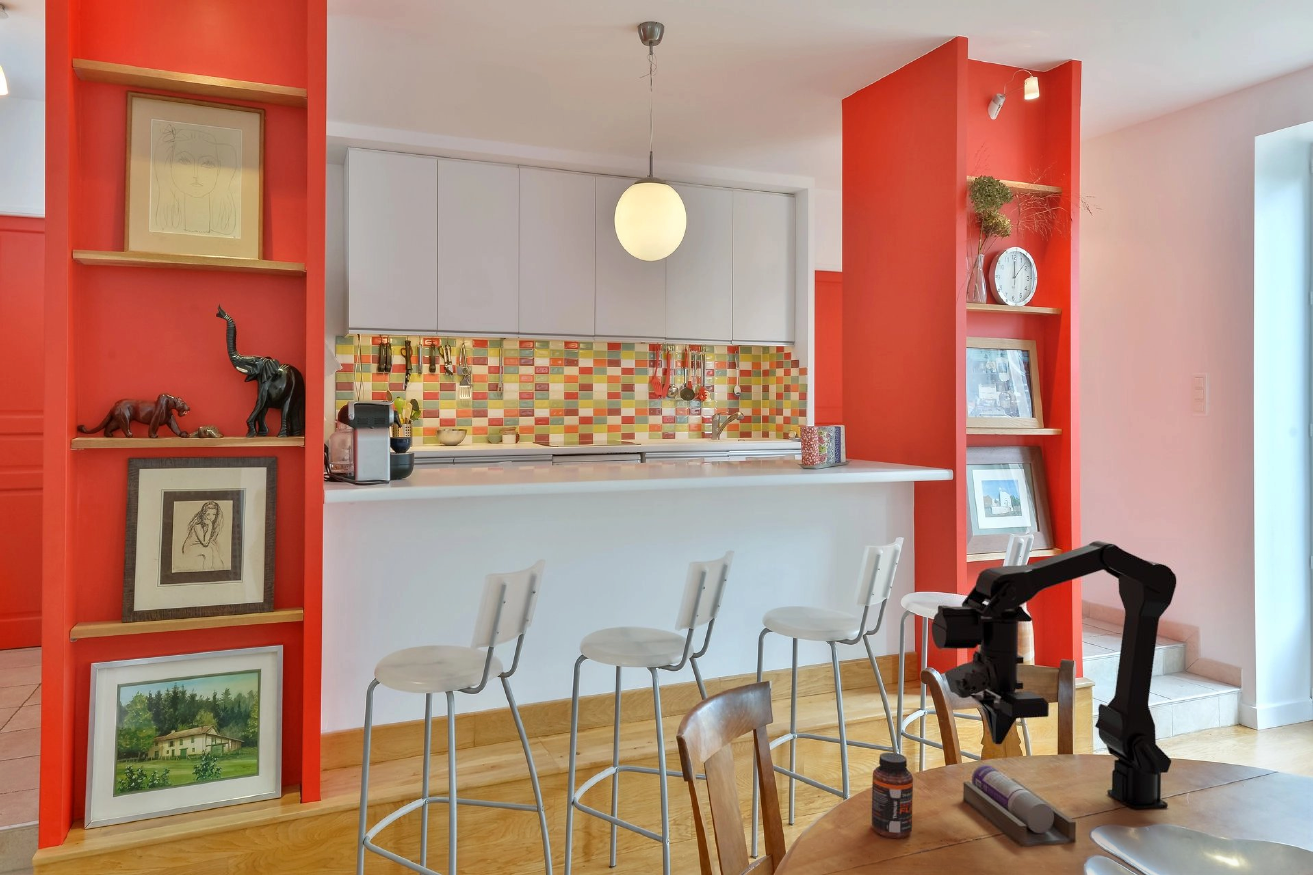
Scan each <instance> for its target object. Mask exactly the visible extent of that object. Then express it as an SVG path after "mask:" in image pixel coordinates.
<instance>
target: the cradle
mask: <svg viewBox="0 0 1313 875" xmlns="http://www.w3.org/2000/svg"><path fill="white" fill-rule="evenodd" d="M1010 779H1011V780H1012V781H1014V782H1015V783H1017V784H1018V785H1020V786H1021V787H1023V788H1024V789H1026V790H1027V791H1029V792H1030V793H1032V794H1033V795H1034V796H1036V797H1037V798H1038V799H1040V800H1041V801H1043V802H1044V803H1045V804H1047V805H1048V806H1049V807H1050V808H1051V809H1052V811H1053V814H1054V821H1053V824H1052V826H1051V827H1050V828H1049V829H1048V830H1047V831H1046V832H1043V833H1036V832H1034V831H1032V830H1031V829H1029V828H1028V827H1027V826H1026V825H1025V824H1024V823H1022V822H1021V821H1020V820H1018V819H1017V818H1016V817H1015V816H1013V815H1012V814H1011V813H1009V812H1008V811H1007V810H1005V809H1004V808H1003V807H1002V806H1000V805H999V804H998V803H996V802H995V801H994V800H992V799H991V798H990V797H989V796H987V795H986V794H985V793H983V792H982V791H981V790H979V789H978V788H977V787H976V786H974V785H973V784H972V782H970V781H963V785H962V786H963V789H962V790H963V791H962V792H963V794H962V795H963V797H962V798H963V799H962V800H963V801H964V802H965V803H966V804H968V805H969V806H970V807H971V808H972V809H974V810H975V811H976V812H977V813H979V815H980V816H982V817H983V818H984V819H985V820H987V821H988V822H989V823H991V824H992V825H993V826H994V827H995V828H997V829H998V831H1000V832H1002V834H1004V835H1006V837H1008V839H1010V840H1011V841H1012V842H1014V843H1015V844H1016V845H1017V846H1019V847H1030V846H1041V845H1043V846H1044V845H1045V846H1046V845H1054V844H1055V845H1057V844H1067V843H1076V838H1077V837H1076V836H1077V833H1076V829H1077V828H1076V827H1077V826H1076V821H1075V820H1074V819H1072V818H1071V817H1070V816H1068V815H1067V814H1065V813H1064V812H1062V811H1061V810H1059V809H1058V808H1057V807H1055V806H1053V804H1051V803H1049V802H1048V801H1047V800H1045V799H1044V798H1042V797H1040V796H1039V795H1038V794H1037V793H1035V792H1034V791H1032V790H1030V789H1029V788H1028V787H1026V786H1025V785H1023V784H1022V783H1021V782H1019V781H1018V780H1017V779H1015V778H1010Z"/></svg>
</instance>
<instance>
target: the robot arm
mask: <svg viewBox="0 0 1313 875" xmlns="http://www.w3.org/2000/svg"><path fill="white" fill-rule="evenodd" d="M1100 571H1104V572H1106V573H1107V574H1109V575H1111V576H1113V577H1114V578H1116V579H1117V580H1118V593H1119V596H1120V601H1121V603H1122V605H1123V608H1124V612H1125V613H1124V620H1123V630H1122V638H1121V644H1120V645H1121V646H1120V653H1119V660H1118V670H1117V676H1116V682H1115V692H1114V696H1113V698H1112V699H1111V700H1110V702H1109V703H1108V704H1107V705H1106V704H1102V703H1100V704H1099V705H1098V707H1097V708H1098V710H1097V711H1098V717H1097V721H1096V723H1095V725H1094V726H1095V727H1096V728H1097V729H1098V736H1099V739H1101V741H1102V743H1103V744H1104V745H1106V748H1107V751H1108V753H1109V754H1110V755H1111V756H1113V757H1115V758H1117V759H1115V760H1114V761H1113V762H1114V763H1113V764H1114V766H1113V767H1114V768H1113V770H1111V771H1112V772H1111V789H1107V791H1106V792H1107V794H1108V795H1110V796H1111V797H1112V798H1115V800H1117V801H1119V802H1121V803H1123V804H1124V805H1126V806H1128V807H1129V808H1131V809H1133V810H1134V809H1135V810H1142V809H1143V810H1144V809H1153V808H1154V809H1155V808H1167V807H1168V806H1169V804H1168V802H1166V801H1164V799H1161V795H1162V793H1161V792H1162V782H1161V781H1162V774H1163V773H1165V774H1167V773H1168V772H1169V770H1170V767H1171V764H1172V759H1171V758H1170V757H1169V756H1168V755H1167V754H1166V753H1165V752H1164V751H1163V750H1162V749H1161V748H1160V747H1159V746H1158V745H1157V740H1156V737H1157V736H1156V735H1157V734H1156V724H1155V721H1154V719H1153V716H1152V711H1151V710H1150V706H1149V700H1150V694H1151V693H1150V692H1151V684H1152V677H1153V671H1154V670H1153V669H1154V660H1155V654H1156V646H1157V638H1158V629H1159V622H1160V619H1161V617H1162V615H1163V614H1164V613H1165V612H1166V611H1167V609H1169V606H1170V605H1171V604H1172V601H1173V598H1174V594H1175V592H1176V591H1175V590H1176V587H1177V576H1176V573H1174V571H1173V570H1172V569H1171V568H1170V567H1169V566H1167V565H1166V564H1162V563H1159V562H1154V561H1150V560H1146V559H1144V558H1141V557H1139V556H1136V555H1134V554H1131V553H1130V552H1127V551H1126V550H1124V549H1122V548H1120V547H1119V546H1117V545H1116V544H1115V543H1114V544H1113V543H1109V542H1105V541H1100V540H1095V541H1092V542H1090V543H1089V544H1086V545H1084V546H1081V547H1077V548H1074V549H1072V550H1068V551H1066V552H1062V553H1060V554H1057V555H1052V556H1050V557H1048V558H1045V559H1042V560H1038V561H1035V562H1032V563H1029V564H1021V565H1004V566H996V567H988V568H986V569H983V570H982V571H980V573H978V576H977V578H976V582H975V585H974V587H973V588H972V589H971V591H970V592H969V593H968V594H967V596H966V597H965V598H964V600H963V601H962V603H961V606H951V605H938V606H937V613H935V615H934V617H933V622H932V623H931V636H932V639H933V643H934V645H935V647H936V648H937V649H939V650H943V649H944V650H951V649H952V650H953V649H959V650H961V649H966V650H967V649H970V650H971V649H976V648H977V646H979V647H980V648H979V650H974V652H973V653H972V661H969V662H966V663H962V664H959V665H958V666H956V667H953V668H951V669H949V670H946V671H945V672H944V675H945V676H944V677H945V678H946V683H947V685H948V688H949V691H950V692H951V693H954V694H956V695H957V696H958V697H959V698H960V699H966V698H972V699H973V700H974V701H975V702H976V703H977V704H978V705H979V706H980V707H981V708H982V711H983V713H984V716H985V719H986V721H987V722H986V723H987V727H988V731H989V733H990V736H991V739H992V742H993V744H995V745H1002V744H1003V742H1004V741H1005V739H1006V737H1007V735H1008V734H1009V732H1010V730H1011V728H1012V727H1013V725H1014V723H1015V721H1016V720H1017V719H1028V718H1029V719H1031V718H1048V717H1049V714H1050V712H1049V710H1050V709H1049V708H1050V703H1049V702H1048V701H1047V700H1046V699H1045V698H1044V697H1043V696H1041V695H1039V694H1036V693H1034V692H1033V691H1016V690H1024V682H1023V681H1020V680H1019V679H1018V666H1019V664H1021V665H1022V664H1024V656H1022V655H1019V646H1018V645H1019V622H1022V623H1023V622H1032V620H1033V618H1032V617H1031V616H1030V615H1029V614H1028V613H1027V612H1026V611H1025V610H1024V608H1023V607H1022V605H1024V604H1026V603H1027V602H1029V601H1031V600H1032V599H1034V598H1035V597H1036V596H1037V595H1038V594H1039V593H1040V592H1041V591H1044V590H1045V589H1046V590H1047V589H1048V588H1052V587H1054V586H1058V585H1061V584H1064V583H1067V582H1070V581H1073V580H1076V579H1079V578H1082V577H1084V576H1088V575H1091V574H1094V573H1097V572H1100ZM984 602H986V603H987V604H986V603H984Z"/></svg>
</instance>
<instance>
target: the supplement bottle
mask: <svg viewBox="0 0 1313 875" xmlns="http://www.w3.org/2000/svg"><path fill="white" fill-rule="evenodd" d="M878 758H879V760H878V764H879V765H878V766H877V767H875V768H874V770H873V771H872V782H871V783H872V784H871V786H872V789H871V791H872V792H871V793H872V794H871V796H872V797H871V828H872V829H873V831H874V832H875V833H876V834H879V835H880V836H883V837H885V838H889V839H903V838H906V837H908V836H910V835H911V834H912V831H913V830H912V828H913V795H914V794H913V793H914V792H913V791H914V790H913V788H914V784H913V783H914V776H913V774H912V772H910V771H909V770H908V763H907V762H908V760H907V757H906V756H905V755H903V754H900V753H897V752H883V753H880V754H879V757H878Z"/></svg>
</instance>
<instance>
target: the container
mask: <svg viewBox="0 0 1313 875" xmlns="http://www.w3.org/2000/svg"><path fill="white" fill-rule="evenodd" d="M1011 779H1012V778H1009V777H1008V776H1006V775H1005V774H1003V773H1002V772H1001V771H999V770H998V769H996V768H995V767H994V766H991V765H989V764H983V765H980V766H977V768H976V769H975V770H974V771H973V773H972V776H971V783H972V784H973V785H974V786H976V787H977V788H978V789H979V790H981V791H982V792H983V793H985V794H986V795H987V796H989V797H990V798H991V799H992V800H994V801H995V802H996V803H998V804H999V805H1000V806H1002V807H1003V808H1004V809H1005V810H1007V811H1008V812H1009V813H1011V814H1012V815H1013V816H1015V817H1016V818H1017V819H1018V820H1020V821H1021V822H1022V823H1024V824H1025V825H1026V826H1027V827H1028V828H1029V829H1031V830H1032V831H1034V832H1036V833H1043V832H1046V831H1047V830H1048V829H1049V828H1050V827H1051V826H1052V824H1053V821H1054V814H1053V811H1052V809H1051V808H1050V807H1049V806H1048V805H1047V804H1045V803H1044V802H1043V801H1041V800H1040V799H1038V798H1037V797H1036V796H1034V795H1033V794H1032V793H1030V792H1029V791H1027V790H1026V789H1024V788H1023V787H1021V786H1020V785H1018V784H1017V783H1015V782H1014V781H1012V780H1011Z"/></svg>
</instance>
